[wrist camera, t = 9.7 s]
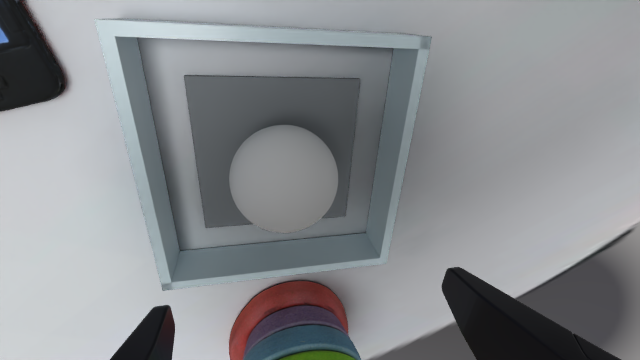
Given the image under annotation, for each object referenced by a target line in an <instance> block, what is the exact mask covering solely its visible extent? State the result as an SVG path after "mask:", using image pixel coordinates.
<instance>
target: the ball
mask: <svg viewBox="0 0 640 360" xmlns="http://www.w3.org/2000/svg"><path fill="white" fill-rule="evenodd" d="M229 184H230V190H231V194H232V197H233V200H234V202H235V204H236V206H237V208H238V209H239V210H240V212H241V213H242V214H243V215H244V216H245V217H246V218H247V219H248V220H249V221H250V222H252V223H253V224H255V225H256V226H258V227H260V228H262V229H264V230H268V231H271V232H277V233H291V232H296V231H300V230H303V229H306V228H308V227H310V226H311V225H313V224H315V223H316V222H317V221H318V220H320V219H321V218H322V217H323V216H324V215H325V214H326V212H327V211H328V210H329V208H330V207H331V205H332V203H333V201H334V198H335V196H336V192H337V187H338V170H337V166H336V162H335V159H334V157H333V155H332V153H331V151H330V150H329V148H328V147H327V145H326V144H325V143H324V142H323V141H322V140H321V139H320V138H319V137H318V136H316V135H315V134H313V133H312V132H310V131H308V130H306V129H304V128H301V127H298V126H293V125H275V126H270V127H267V128H264V129H261V130H259V131H257V132H255V133H254V134H252V135H251V136H250V137H249V138H247V139H246V140H245V141H244V142H243V143H242V145H241V146H240V147H239V149H238V150H237V152H236V154H235V156H234V158H233V160H232V163H231V167H230V174H229Z"/></svg>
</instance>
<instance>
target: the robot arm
mask: <svg viewBox="0 0 640 360" xmlns="http://www.w3.org/2000/svg"><path fill="white" fill-rule="evenodd" d="M442 291H443V294H444V296H445V298H446V300H447V302H448V305H449V307H450V309H451V311H452V313H453V315H454V318H455V320H456V322H457V324H458V326H459V328H460V330H461V332H462V334H463V336H464V338H465V340H466V342H467V343H468V345H469V347H470V349H471V350H472V352H473V354H474V356H475V357H476V359H477V360H621V359H619V358H617V357H615V356H613V355H612V354H610V353H608V352H606V351H604V350H602V349H601V348H599V347H597V346H595V345H594V344H592V343H590V342H588V341H586V340H585V339H583V338H581V337H580V336H578V335H576V334H573V333H572V332H571V331H569V330H568V329H566V328H564V327H562V326H561V325H559V324H557V323H555V322H554V321H552V320H550V319H549V318H547V317H545V316H543V315H542V314H540V313H538V312H536V311H535V310H533V309H531V308H530V307H528V306H526V305H524V304H523V303H521V302H519V301H517V300H516V299H514V298H512V297H511V296H509V295H507V294H505V293H504V292H502V291H500V290H498V289H497V288H495V287H493V286H492V285H490V284H488V283H486V282H485V281H483V280H481V279H479V278H478V277H476V276H474V275H473V274H471V273H469V272H467V271H466V270H464V269H462V268H460V267H454V268H448V269H447V271H446V274H445V277H444V280H443V283H442ZM174 335H175V323H174V319H173V315H172V311H171V308H170V306H169V305H164V306H156V307H154V308H153V309H152V310H151V311H150V312H149V313H148V314H147V316H146V317H145V318H144V319H143V320H142V322H141V323H140V324H139V325H138V326H137V328H136V329H135V330H134V331H133V332H132V334H131V335H130V336H129V337H128V338H127V340H126V341H125V342H124V343H123V344H122V346H121V347H120V348H119V349H118V350H117V352H116V353H115V354H114V355H113V356H112V358H111V359H110V360H172V352H173V343H174Z"/></svg>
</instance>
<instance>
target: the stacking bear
mask: <svg viewBox="0 0 640 360" xmlns="http://www.w3.org/2000/svg"><path fill="white" fill-rule="evenodd" d="M229 355H230V360H361V358H360V356H359V354H358V352H357V350H356V348H355V346H354V344H353V342H352V341H351V340H350V338H349V336H348V323H347V318H346V314H345V310H344V308H343V305H342V303H341V302H340V300H339V299H338V297H337V296H336V295H335V294H334V293H333V292H332V291H331V290H330V289H328V288H327V287H325V286H323V285H320V284H318V283H313V282H308V281H294V282H287V283H283V284H279V285H276V286H273V287H271V288H269V289H267V290H265V291H263V292H261V293H260V294H258V295H257V296H256V297H254V298H253V299H252V300H251V301H250V302H249V303H248V304H247V305H246V307H245V308H244V309H243V310H242V312H241V313H240V315H239V316H238V318H237V320H236V321H235V323H234V326H233V328H232V331H231V334H230V340H229Z"/></svg>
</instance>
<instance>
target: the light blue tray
mask: <svg viewBox="0 0 640 360" xmlns="http://www.w3.org/2000/svg"><path fill="white" fill-rule="evenodd" d="M94 20H95V24H96V28H97V32H98V36H99V40H100V44H101V48H102V52H103V56H104V60H105V64H106V68H107V72H108V76H109V80H110V84H111V88H112V92H113V95H114V99H115V103H116V107H117V111H118V115H119V119H120V123H121V127H122V131H123V135H124V139H125V143H126V147H127V151H128V155H129V159H130V163H131V167H132V171H133V175H134V179H135V183H136V187H137V191H138V195H139V199H140V203H141V207H142V211H143V215H144V218H145V222H146V226H147V230H148V234H149V238H150V242H151V246H152V250H153V254H154V258H155V262H156V266H157V270H158V274H159V278H160V282H161V286H162V290H163V291H165V290H173V289H181V288H189V287H198V286H206V285H214V284H222V283H230V282H239V281H247V280H255V279H263V278H272V277H280V276H288V275H296V274H304V273H313V272H321V271H329V270H337V269H346V268H354V267H362V266H370V265H378V264H386V263H387V258H388V253H389V248H390V243H391V238H392V233H393V228H394V223H395V218H396V213H397V208H398V203H399V198H400V193H401V188H402V183H403V178H404V173H405V168H406V163H407V158H408V153H409V148H410V143H411V138H412V133H413V128H414V123H415V118H416V113H417V108H418V104H419V99H420V94H421V89H422V84H423V79H424V74H425V69H426V64H427V59H428V54H429V49H430V44H431V39H432V37H429V36H421V35H412V34H401V33H382V32H363V31H344V30H326V29H307V28H288V27H269V26H251V25H232V24H213V23H195V22H176V21H157V20H138V19H94ZM137 37H144V38H168V39H191V40H215V41H239V42H263V43H286V44H310V45H334V46H358V47H382V48H394V49H393V55H392V62H391V69H390V75H389V82H388V89H387V95H386V102H385V108H384V115H383V122H382V128H381V135H380V142H379V148H378V155H377V161H376V168H375V175H374V181H373V188H372V195H371V201H370V208H369V215H368V221H367V228H366V233H360V234H350V235H340V236H329V237H319V238H309V239H298V240H288V241H278V242H267V243H257V244H247V245H236V246H226V247H216V248H205V249H195V250H185V251H180V250H179V245H178V240H177V235H176V230H175V225H174V220H173V215H172V210H171V205H170V200H169V195H168V190H167V185H166V180H165V175H164V170H163V165H162V160H161V155H160V150H159V145H158V140H157V135H156V130H155V125H154V120H153V115H152V110H151V105H150V100H149V95H148V90H147V85H146V80H145V75H144V70H143V65H142V60H141V55H140V50H139V45H138V40H137Z"/></svg>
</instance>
